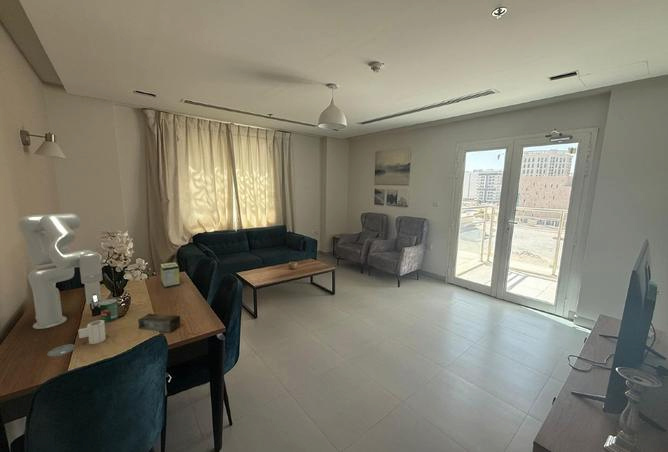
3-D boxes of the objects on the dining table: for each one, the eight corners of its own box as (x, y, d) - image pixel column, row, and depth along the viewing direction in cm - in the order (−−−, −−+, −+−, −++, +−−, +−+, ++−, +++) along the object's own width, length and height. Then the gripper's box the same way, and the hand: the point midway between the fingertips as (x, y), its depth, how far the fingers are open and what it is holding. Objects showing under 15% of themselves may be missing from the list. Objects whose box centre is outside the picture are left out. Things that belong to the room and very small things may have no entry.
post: (82, 343, 128) (80, 329, 127) (101, 334, 137) (99, 321, 136) (95, 346, 126) (93, 332, 125) (113, 337, 135) (112, 324, 134)
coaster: (42, 355, 119) (42, 353, 119) (66, 344, 128) (66, 342, 128) (56, 359, 117) (56, 357, 117) (80, 347, 126) (80, 346, 126)
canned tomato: (97, 324, 147) (95, 305, 145) (105, 317, 154) (103, 299, 153) (114, 322, 149) (112, 303, 148) (121, 316, 157) (119, 298, 155)
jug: (105, 341, 130) (103, 323, 129) (79, 347, 125) (77, 329, 123) (106, 335, 135) (104, 319, 134) (81, 341, 129) (79, 324, 128)
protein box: (176, 280, 218) (175, 261, 216) (180, 285, 207) (179, 266, 205) (161, 282, 212) (159, 263, 210) (164, 288, 200) (163, 268, 198)
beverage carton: (150, 322, 150) (149, 311, 149) (181, 325, 148) (181, 314, 147) (138, 330, 142) (137, 318, 142) (171, 333, 140) (170, 321, 139)
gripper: (80, 275, 130) (84, 309, 133) (82, 284, 118) (86, 321, 121) (100, 272, 136) (103, 304, 138) (104, 280, 124) (108, 315, 126)
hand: (95, 312), depth 129 cm, fingers open, 9 cm apart
